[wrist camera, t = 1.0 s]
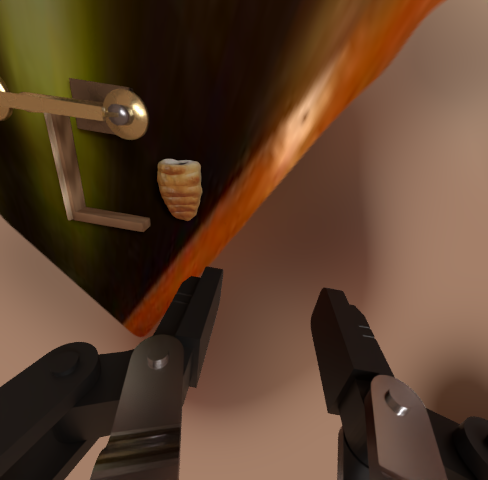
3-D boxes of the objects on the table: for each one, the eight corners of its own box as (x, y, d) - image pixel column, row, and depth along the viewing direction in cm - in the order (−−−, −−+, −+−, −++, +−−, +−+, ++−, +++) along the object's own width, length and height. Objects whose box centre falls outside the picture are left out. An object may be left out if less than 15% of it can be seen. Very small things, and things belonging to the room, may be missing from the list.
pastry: (206, 217, 38) (200, 226, 35) (167, 216, 39) (158, 225, 36) (202, 158, 34) (194, 162, 31) (158, 157, 35) (146, 161, 32)
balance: (47, 122, 34) (-86, 121, 21) (36, 73, 31) (-125, 38, 18) (171, 143, 34) (111, 154, 21) (171, 94, 31) (102, 74, 18)
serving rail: (58, 109, 33) (38, 107, 30) (145, 123, 33) (133, 123, 30) (78, 213, 40) (64, 220, 38) (150, 226, 40) (141, 233, 37)
